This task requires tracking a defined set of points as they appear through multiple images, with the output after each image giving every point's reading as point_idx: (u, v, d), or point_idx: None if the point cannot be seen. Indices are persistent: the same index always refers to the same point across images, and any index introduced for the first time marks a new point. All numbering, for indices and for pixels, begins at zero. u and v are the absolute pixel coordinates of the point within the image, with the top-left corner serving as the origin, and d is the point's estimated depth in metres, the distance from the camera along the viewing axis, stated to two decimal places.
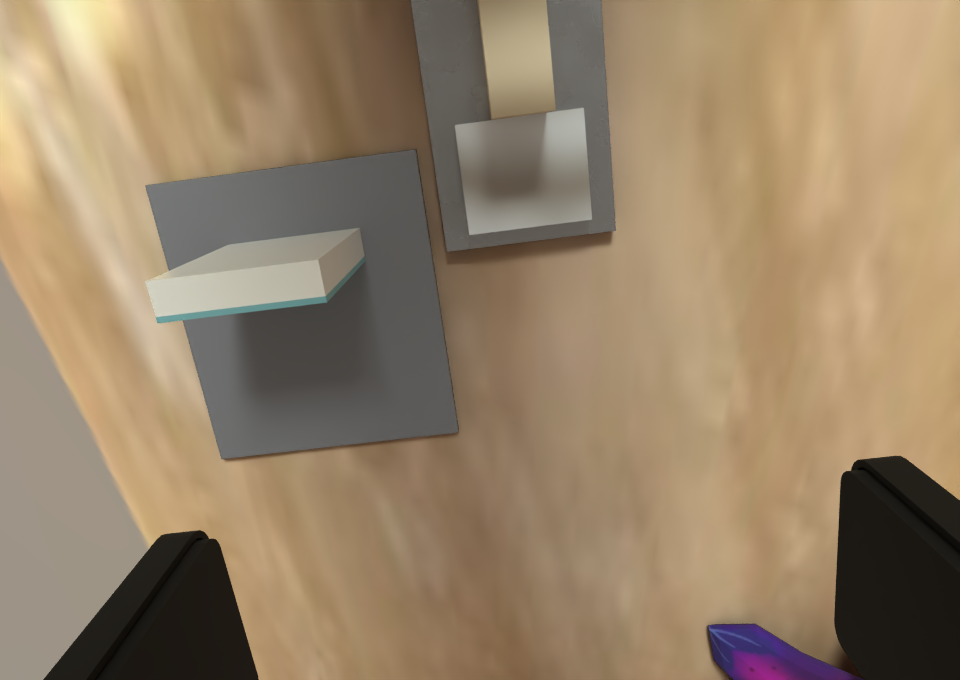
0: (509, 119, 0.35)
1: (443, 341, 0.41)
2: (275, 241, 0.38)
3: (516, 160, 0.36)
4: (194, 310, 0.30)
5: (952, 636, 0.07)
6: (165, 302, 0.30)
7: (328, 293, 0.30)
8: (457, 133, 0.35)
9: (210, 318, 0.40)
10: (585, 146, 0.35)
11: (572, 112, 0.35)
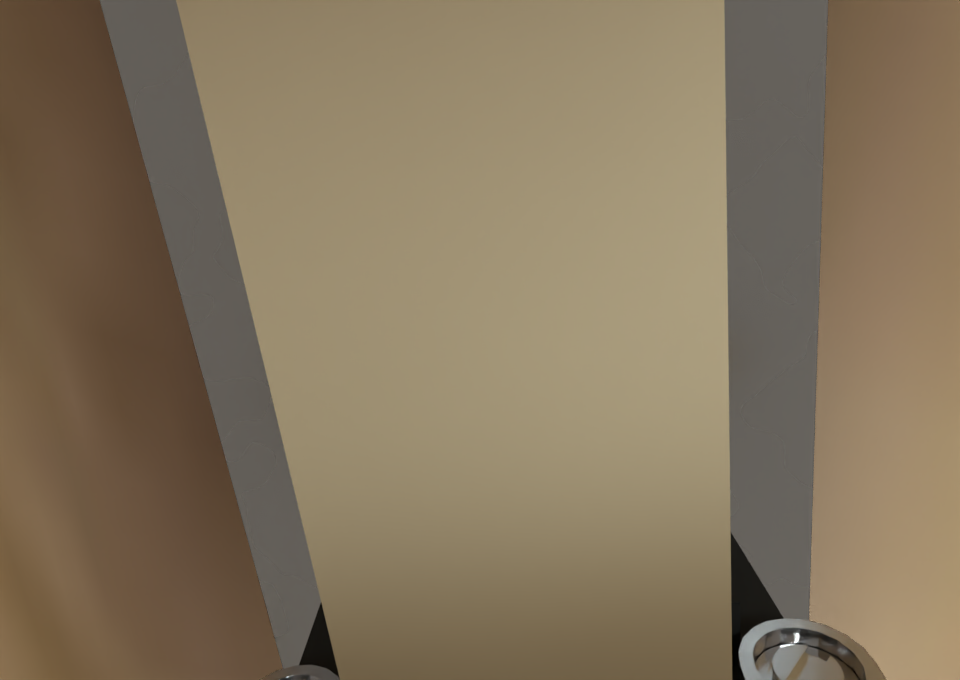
0: None
1: None
2: None
3: None
4: None
5: None
6: None
7: None
8: None
9: None
10: None
11: None
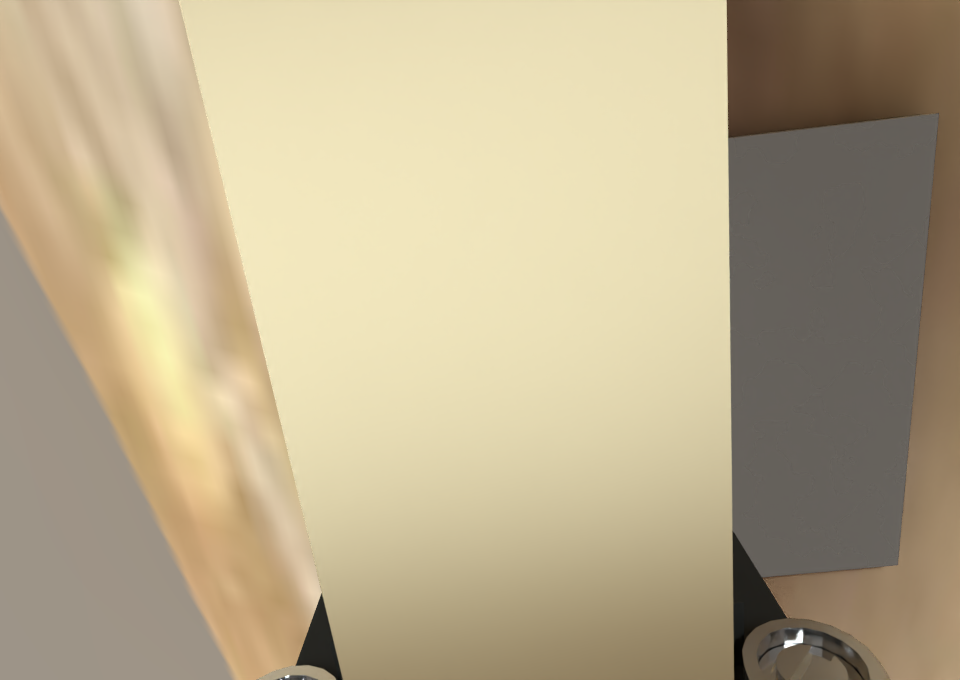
0: None
1: None
2: None
3: None
4: None
5: None
6: None
7: None
8: None
9: None
10: None
11: None
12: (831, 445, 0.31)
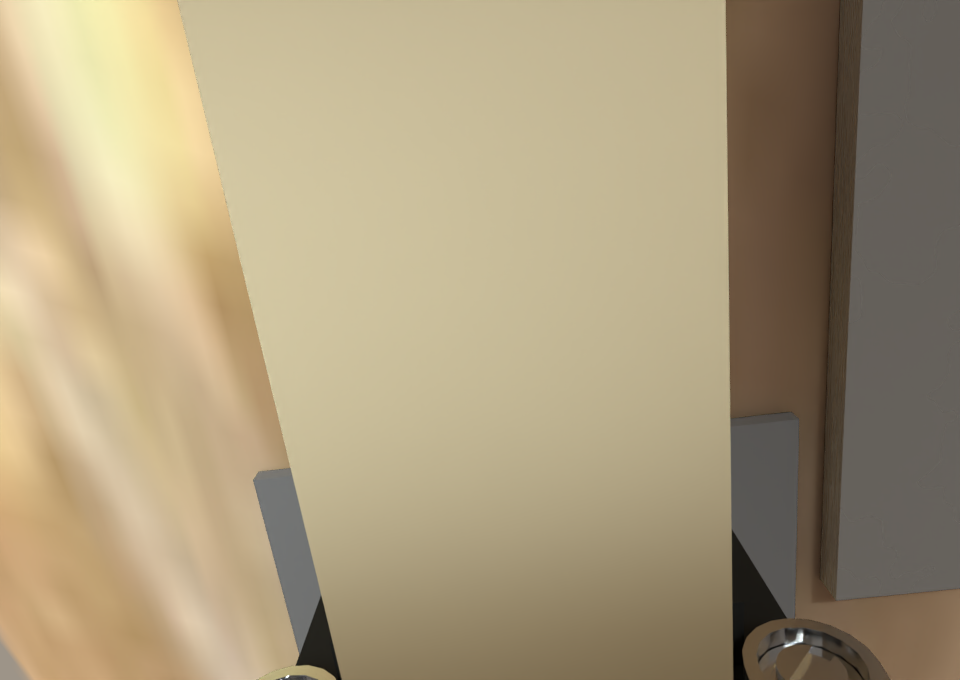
0: None
1: None
2: None
3: None
4: None
5: None
6: None
7: None
8: None
9: None
10: None
11: None
12: None
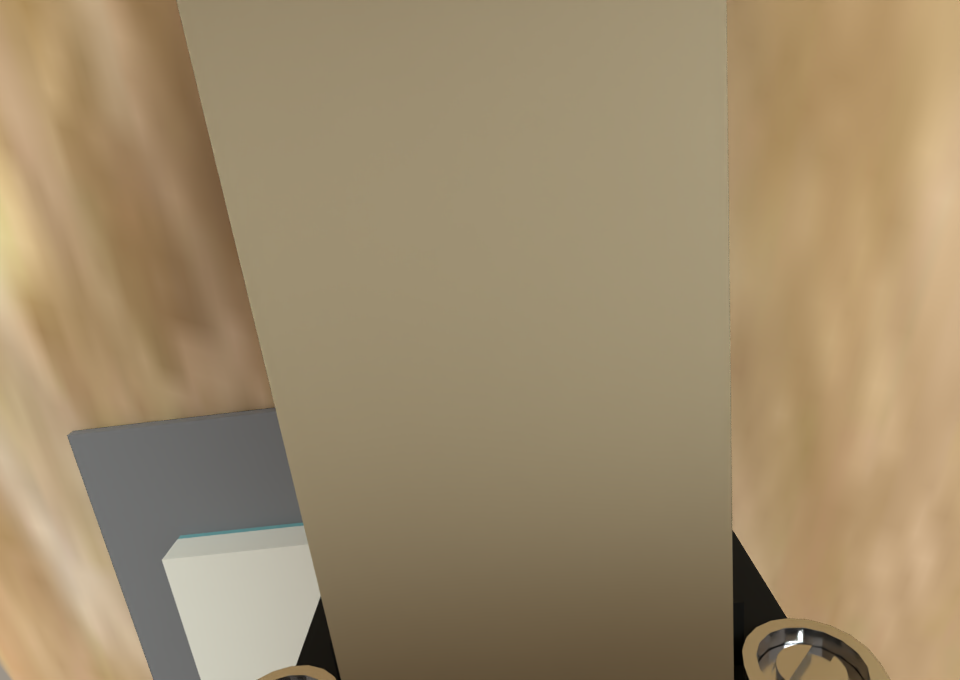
0: None
1: None
2: (235, 576, 0.32)
3: None
4: None
5: None
6: None
7: None
8: None
9: (149, 574, 0.34)
10: None
11: None
12: None
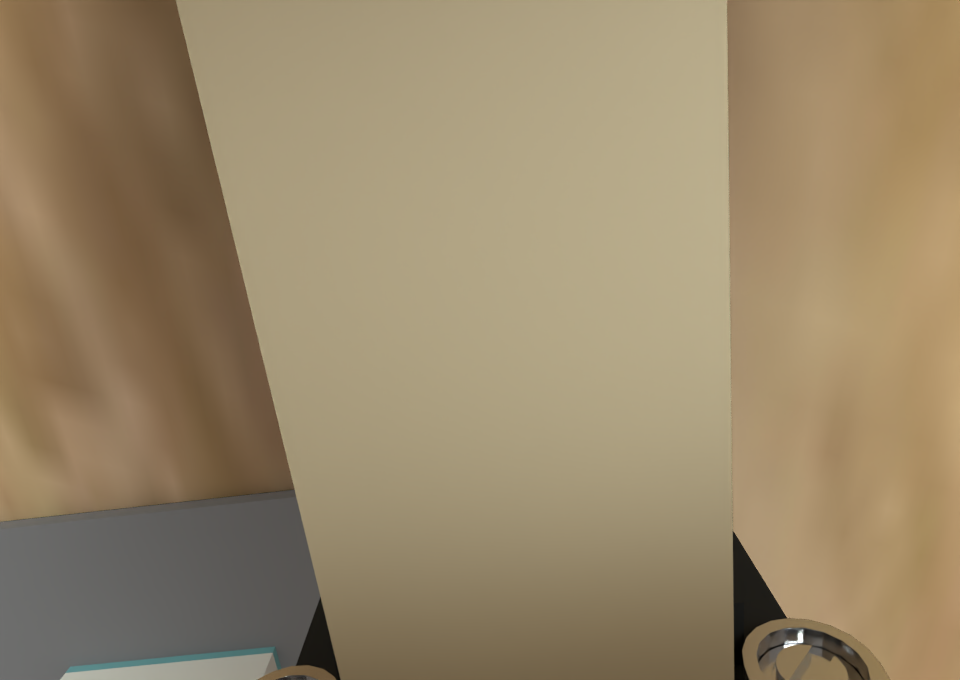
0: None
1: None
2: None
3: None
4: None
5: None
6: None
7: None
8: None
9: None
10: None
11: None
12: None
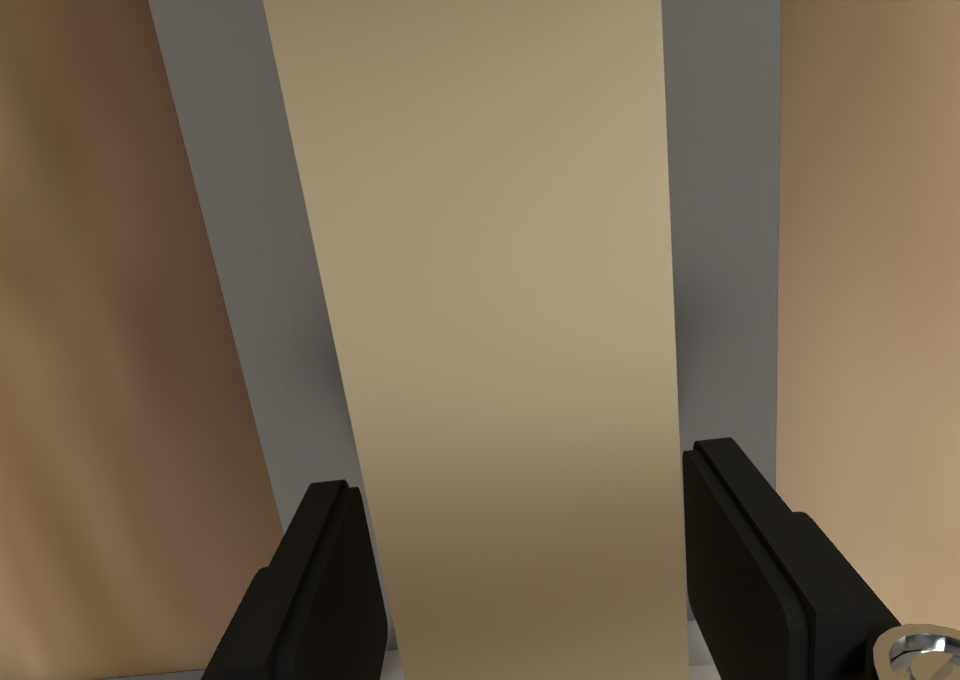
0: None
1: None
2: None
3: None
4: None
5: (738, 589, 0.08)
6: None
7: None
8: None
9: None
10: None
11: (694, 672, 0.13)
12: None
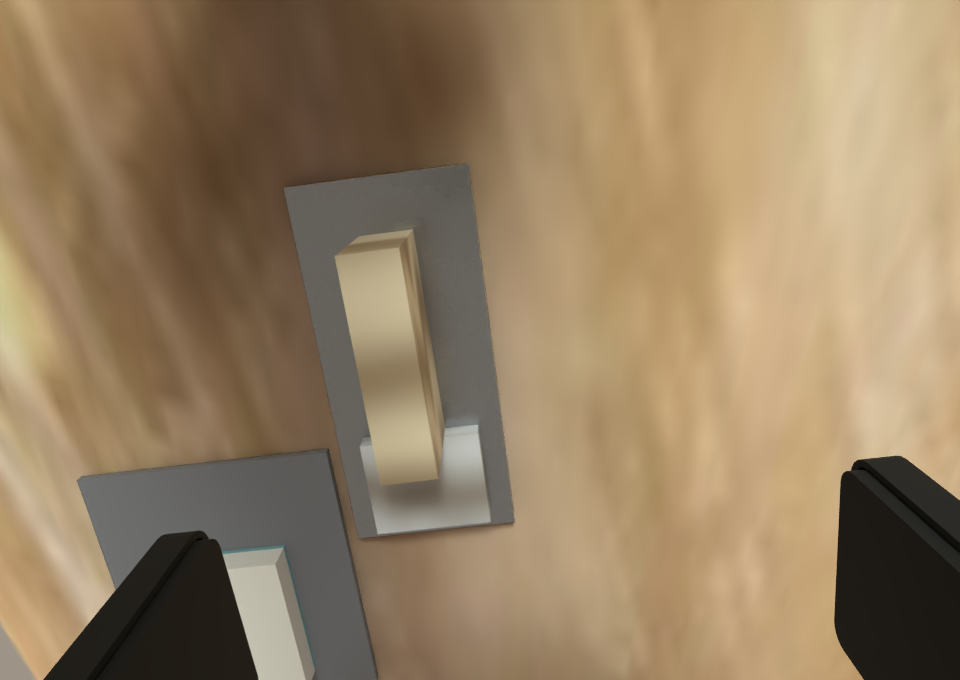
0: None
1: (359, 607, 0.44)
2: None
3: None
4: None
5: (952, 636, 0.07)
6: None
7: (313, 664, 0.45)
8: (362, 453, 0.38)
9: None
10: (481, 464, 0.38)
11: (467, 437, 0.38)
12: None
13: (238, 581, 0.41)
